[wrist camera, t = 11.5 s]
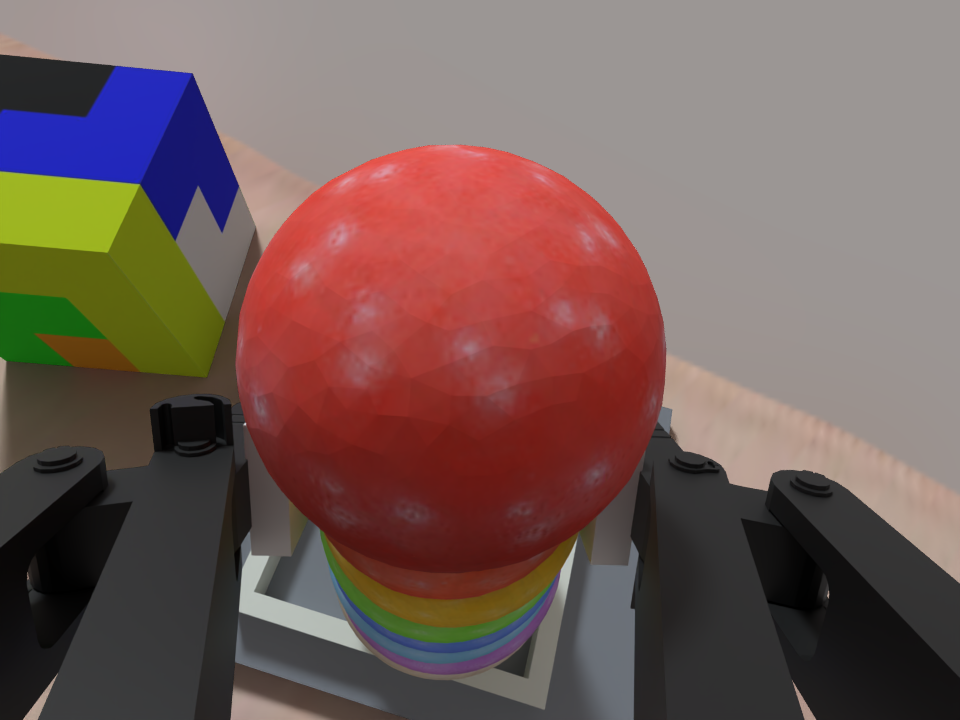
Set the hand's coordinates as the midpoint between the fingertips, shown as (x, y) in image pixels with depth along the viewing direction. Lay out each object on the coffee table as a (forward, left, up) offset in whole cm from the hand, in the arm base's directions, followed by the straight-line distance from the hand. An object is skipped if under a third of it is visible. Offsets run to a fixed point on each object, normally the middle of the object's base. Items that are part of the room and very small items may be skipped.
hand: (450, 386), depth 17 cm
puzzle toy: (-19, +6, -12) cm, 23 cm away
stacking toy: (+1, -4, -7) cm, 8 cm away
